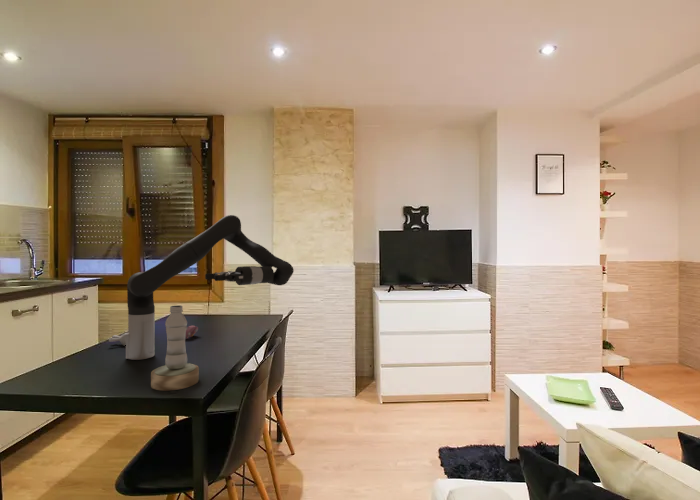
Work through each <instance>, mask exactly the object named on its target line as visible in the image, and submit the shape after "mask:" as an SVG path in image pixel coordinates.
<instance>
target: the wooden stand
mask: <svg viewBox="0 0 700 500" xmlns="http://www.w3.org/2000/svg"><path fill="white" fill-rule="evenodd" d="M199 370H200V368H199V366H198V365H197V364H193V363H190V362H189V363H188V362H187V364H186V366H185V367H183V368H180V369H168V368H167V367H166V364H165V365H162V366H159V367H157V368H155V369H153V370H152V371H150V388H151V389H153V390H156V391H166V392H167V391H176V390H182V389H186V388H189V387H193V386H194V385H196V384H198V382H199V380H200V373H199V372H200V371H199Z"/></svg>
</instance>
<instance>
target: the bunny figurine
mask: <svg viewBox="0 0 700 500" xmlns="http://www.w3.org/2000/svg"><path fill="white" fill-rule="evenodd" d="M127 333H128V332H125V333H122V334H121V335H116V334H115V335H112V336H111V337H110V338H109V339H108V342H109V343H112V342H113V343H114V342H120V343H121V345H122V346H124V347H126V346H125V345H126V334H127Z"/></svg>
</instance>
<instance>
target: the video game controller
mask: <svg viewBox="0 0 700 500" xmlns="http://www.w3.org/2000/svg"><path fill="white" fill-rule="evenodd" d="M198 330H199V327H198V326H195V325H189V326H187V327H186V335H185V340H186V339H187V340H188V339H190V338H193V337H194V335H195V334H196V333H197V332H198Z"/></svg>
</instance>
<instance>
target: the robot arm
mask: <svg viewBox="0 0 700 500" xmlns="http://www.w3.org/2000/svg"><path fill="white" fill-rule="evenodd" d="M223 239H224V240H225V241H227V243H230V244H231V245H233V246H235V247H236V248H238V249H239V250H241V251H243V252H244V253H245V254H247V255H248V256H249V257H250V258H252V259H253V260H254V261H255V262H256V263H258V265H260V266H258V265H257V266H256V265H250V266H249V265H248V266H247V265H246V266H237V267H236V269H235V271H234V270H228V271H220V272H214V273H206V274H205V275H204V276H205V280H214V281H215V282H219V281H220V282H222V281H225V282H230V283H231V282H235V284H237V285H238V286H250V285H258V284H267V283H268V284H270V285H276V286H284V285H287V283H288V281H289V280H290V278H291V277H292V275H293V274H294V267H293V266H292V264H291V263H289V262H287V260H284V259H281V258H279V257H277V256H276V255H274V254H273V253H272V252H270V250H268V249H267V248H266V247H264V246H263V245H261V244H259V243H256V242H254V241H253V240H251V239H250V238H249V237H247V236H246V234H244V233H243V231H242V222H241V219H240V218H239V216H237V215H234V214H231V215H230V214H229V215H225V216H223V217H222V218H220V219H219V220H217V222H215V223H214V224H213V225H211V226H210V227H209V228H207V229H206V230H205V231H203V232H200V234H198V235H197V236H195V237H194V238H191V239H190V240H188V241H186V242H184V243H183V244H182V245H180V246H178V247H177V248H175V249H174V250H173V251H172V252H171V253H169V254H168V255H167V256H166V257H165V258H164V259H163V260H161V262H159V263H158V264H156V265H155V266H152V267H151V268H149V269H147V270H144V271H143V272H141V271H140V272H136V273H135V272H134V273H133V274H132V275H130V277H129V278H128V281H127V284H126V286H127V291H126V293H127V297H126V298H127V299H126V300H127V314H128V315H127V319H128V320H127V322H128V323H127V325H128V327H127V332H126V333H127V334H126V346H125V359H128V360H133V361H134V360H136V361H138V360H146V359H150V358H153V357H154V356H155V355H156V354H155V351H156V350H155V344H156V343H155V339H156V338H155V333H156V332H155V330H156V329H155V325H156V323H155V320H156V319H155V316H156V315H155V312H156V311H155V302H154V292H155V291H156V290H157V289H159V288H160V287H161V286H163V285H165V283H166V282H167V281H169V280H170V279H172V278H173V277H175V276H177V275H179V274H180V273H182V272H184V271H186V270H187V269H189V268H190V267H192V266H194V265H196V264H197V263H199V261H201V260H202V259H204V257H206V255H208V254H209V252H210V251H211V250H212V249H213V247H215V245H217V243H219V242H220V241H222V240H223ZM273 267H274V268H275V269H276V270H275V271H274V269H273Z"/></svg>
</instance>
